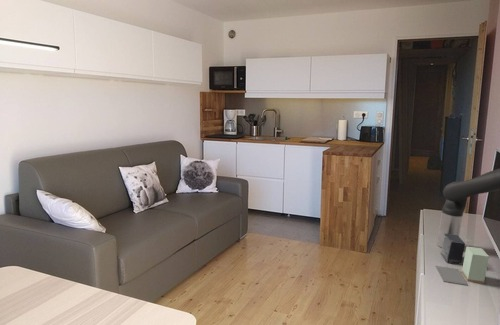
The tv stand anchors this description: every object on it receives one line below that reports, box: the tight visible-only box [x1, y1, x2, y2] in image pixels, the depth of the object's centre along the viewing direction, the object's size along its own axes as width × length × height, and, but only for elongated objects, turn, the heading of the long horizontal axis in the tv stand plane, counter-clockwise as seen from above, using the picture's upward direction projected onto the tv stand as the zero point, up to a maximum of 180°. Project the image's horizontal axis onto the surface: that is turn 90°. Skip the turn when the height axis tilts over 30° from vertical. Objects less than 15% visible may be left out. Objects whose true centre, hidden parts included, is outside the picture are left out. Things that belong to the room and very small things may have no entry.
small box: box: [440, 233, 466, 266], centre depth 176 cm, size 11×6×10 cm, turn 168°
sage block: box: [461, 246, 490, 285], centre depth 159 cm, size 8×6×12 cm
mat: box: [435, 265, 469, 286], centre depth 161 cm, size 14×9×1 cm, turn 167°
